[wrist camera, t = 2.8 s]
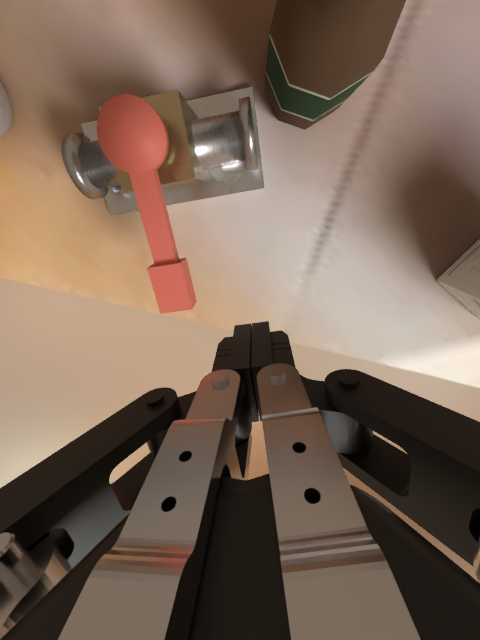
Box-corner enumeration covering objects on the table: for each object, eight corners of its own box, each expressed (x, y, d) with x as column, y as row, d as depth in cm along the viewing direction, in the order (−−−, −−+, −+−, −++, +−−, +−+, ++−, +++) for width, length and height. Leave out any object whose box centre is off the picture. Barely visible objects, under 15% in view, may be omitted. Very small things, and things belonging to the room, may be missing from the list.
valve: (84, 125, 30) (-1, 90, 20) (252, 89, 28) (251, 30, 18) (113, 214, 33) (52, 223, 23) (263, 188, 32) (268, 184, 21)
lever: (99, 108, 20) (83, 100, 18) (160, 95, 20) (151, 85, 18) (158, 306, 26) (150, 314, 24) (205, 299, 26) (202, 307, 24)
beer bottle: (266, 136, 30) (301, -31, 8) (261, 39, 26) (293, -713, 5) (342, 126, 29) (620, -89, 7) (346, 25, 26) (870, -941, 4)
